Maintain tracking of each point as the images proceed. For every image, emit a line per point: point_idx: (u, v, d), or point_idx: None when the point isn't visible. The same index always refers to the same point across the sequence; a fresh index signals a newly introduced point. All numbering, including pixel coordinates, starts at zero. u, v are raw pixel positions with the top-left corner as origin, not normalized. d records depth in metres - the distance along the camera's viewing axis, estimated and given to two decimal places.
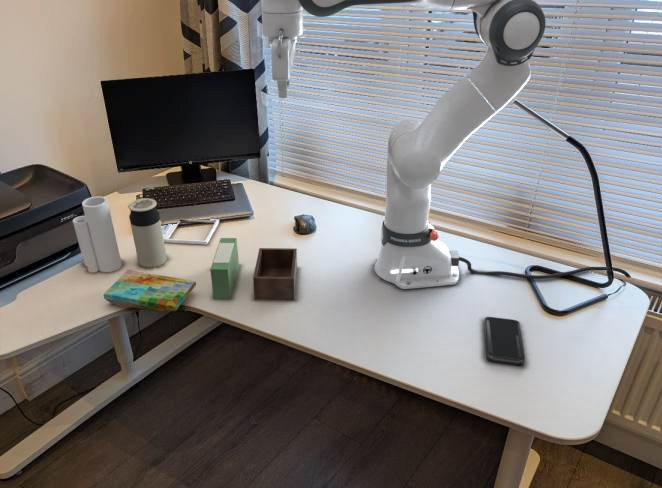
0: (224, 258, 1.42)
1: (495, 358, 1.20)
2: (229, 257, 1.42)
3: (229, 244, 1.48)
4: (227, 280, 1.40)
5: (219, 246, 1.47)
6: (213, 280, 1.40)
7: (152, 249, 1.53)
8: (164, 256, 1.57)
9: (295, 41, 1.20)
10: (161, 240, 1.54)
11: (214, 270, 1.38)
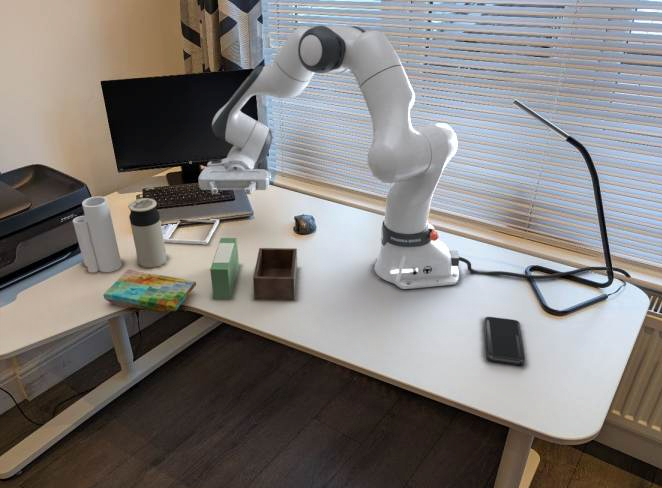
0: (224, 258, 1.42)
1: (495, 358, 1.20)
2: (229, 257, 1.42)
3: (229, 244, 1.48)
4: (227, 280, 1.40)
5: (219, 246, 1.47)
6: (213, 280, 1.40)
7: (152, 249, 1.53)
8: (164, 256, 1.57)
9: None
10: (161, 240, 1.54)
11: (214, 270, 1.38)
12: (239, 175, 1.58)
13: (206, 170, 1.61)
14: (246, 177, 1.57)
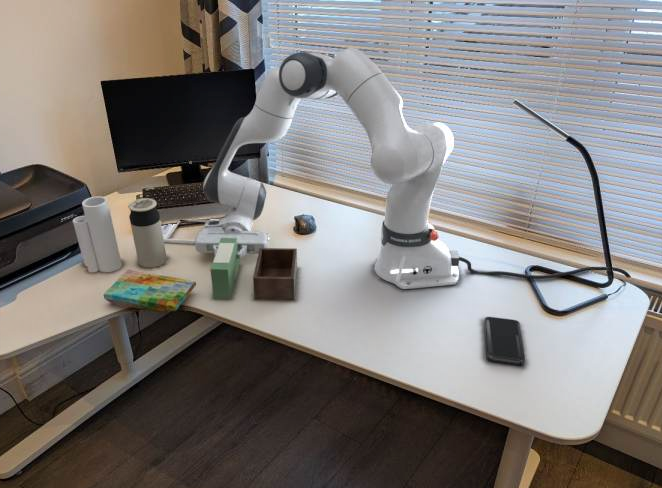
0: (224, 258, 1.42)
1: (495, 358, 1.20)
2: (229, 257, 1.42)
3: (229, 244, 1.48)
4: (227, 280, 1.40)
5: (219, 246, 1.47)
6: (213, 280, 1.40)
7: (152, 249, 1.53)
8: (164, 256, 1.57)
9: None
10: (161, 240, 1.54)
11: (214, 270, 1.38)
12: None
13: (203, 232, 1.58)
14: (243, 240, 1.54)
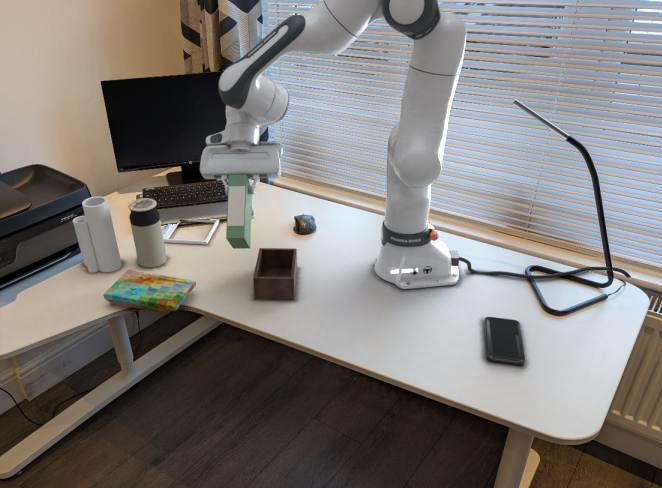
0: (238, 217, 1.32)
1: (495, 358, 1.20)
2: (242, 214, 1.32)
3: (240, 187, 1.34)
4: (245, 242, 1.34)
5: (229, 193, 1.33)
6: (230, 242, 1.35)
7: (152, 249, 1.53)
8: (164, 256, 1.57)
9: None
10: (161, 240, 1.54)
11: (230, 238, 1.32)
12: (245, 164, 1.37)
13: (206, 154, 1.38)
14: (254, 168, 1.37)
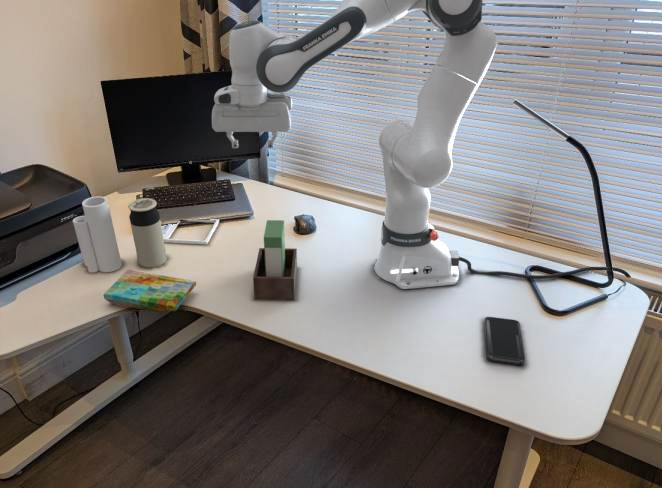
0: (276, 275, 1.41)
1: (495, 358, 1.20)
2: (280, 273, 1.41)
3: (276, 249, 1.37)
4: None
5: (266, 254, 1.38)
6: None
7: (152, 249, 1.53)
8: (164, 256, 1.57)
9: None
10: (161, 240, 1.54)
11: None
12: (256, 123, 1.40)
13: (216, 113, 1.39)
14: (265, 127, 1.40)
